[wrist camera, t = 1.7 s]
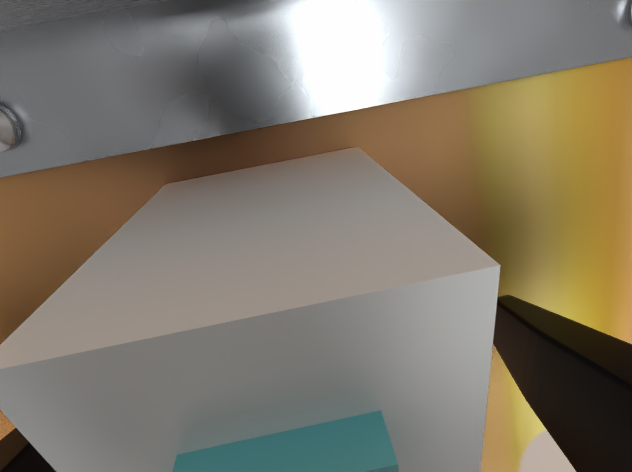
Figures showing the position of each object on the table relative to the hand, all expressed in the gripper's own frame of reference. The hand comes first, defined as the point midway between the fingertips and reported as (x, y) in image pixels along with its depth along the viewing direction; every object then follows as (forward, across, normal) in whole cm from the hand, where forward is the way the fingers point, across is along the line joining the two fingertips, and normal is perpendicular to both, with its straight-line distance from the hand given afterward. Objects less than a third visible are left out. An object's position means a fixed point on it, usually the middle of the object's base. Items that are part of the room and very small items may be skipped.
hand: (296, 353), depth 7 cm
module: (+3, 0, 0) cm, 3 cm away
